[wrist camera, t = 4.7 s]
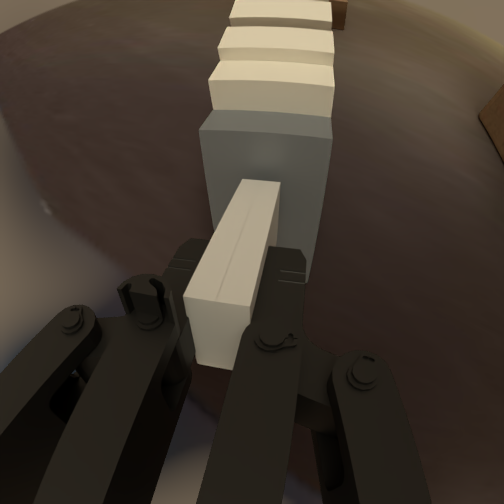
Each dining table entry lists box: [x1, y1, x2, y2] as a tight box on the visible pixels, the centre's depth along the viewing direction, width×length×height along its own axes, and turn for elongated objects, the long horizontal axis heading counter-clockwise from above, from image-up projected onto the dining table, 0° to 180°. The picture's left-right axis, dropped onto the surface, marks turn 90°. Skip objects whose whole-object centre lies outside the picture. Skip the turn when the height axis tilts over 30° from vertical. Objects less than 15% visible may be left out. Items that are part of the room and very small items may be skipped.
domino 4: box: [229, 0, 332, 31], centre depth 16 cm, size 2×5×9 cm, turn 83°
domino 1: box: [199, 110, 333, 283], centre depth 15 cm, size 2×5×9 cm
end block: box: [329, 0, 348, 30], centre depth 20 cm, size 3×9×4 cm, turn 82°
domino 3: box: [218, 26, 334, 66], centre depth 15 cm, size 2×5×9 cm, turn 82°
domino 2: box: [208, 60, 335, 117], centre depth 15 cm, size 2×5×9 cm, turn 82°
